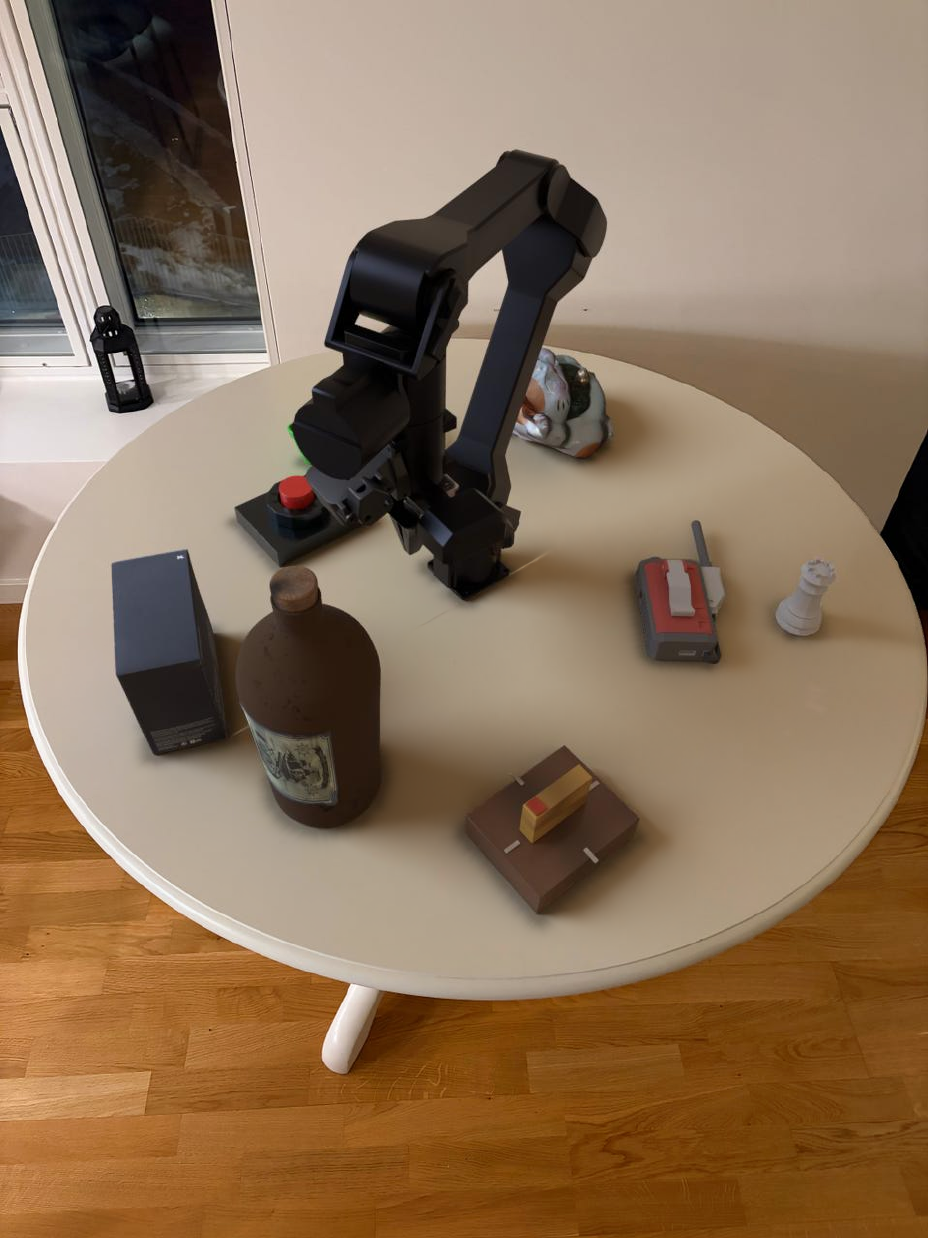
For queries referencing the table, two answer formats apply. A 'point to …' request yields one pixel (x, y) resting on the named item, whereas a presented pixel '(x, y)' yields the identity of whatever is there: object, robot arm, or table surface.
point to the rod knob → (555, 803)
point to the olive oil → (313, 703)
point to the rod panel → (549, 832)
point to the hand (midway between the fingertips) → (411, 551)
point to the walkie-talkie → (680, 604)
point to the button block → (288, 526)
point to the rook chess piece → (806, 599)
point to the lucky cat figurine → (564, 407)
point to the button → (296, 492)
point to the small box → (166, 652)
